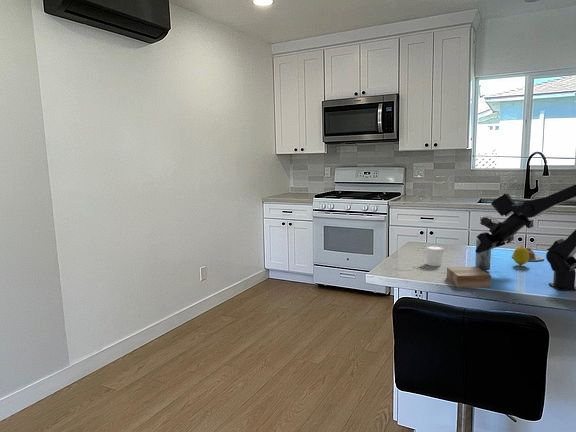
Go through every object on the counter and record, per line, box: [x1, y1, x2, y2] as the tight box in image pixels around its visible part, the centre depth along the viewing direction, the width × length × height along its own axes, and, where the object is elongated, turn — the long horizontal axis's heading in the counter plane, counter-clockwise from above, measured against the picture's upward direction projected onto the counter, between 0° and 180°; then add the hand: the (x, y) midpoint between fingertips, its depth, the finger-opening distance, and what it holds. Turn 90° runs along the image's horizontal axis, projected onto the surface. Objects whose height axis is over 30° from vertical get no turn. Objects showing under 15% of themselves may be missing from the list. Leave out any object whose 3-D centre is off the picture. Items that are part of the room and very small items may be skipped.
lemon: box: [512, 245, 529, 267], centre depth 168 cm, size 6×6×8 cm
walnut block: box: [446, 266, 492, 288], centre depth 148 cm, size 11×11×4 cm
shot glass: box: [425, 245, 444, 267], centre depth 173 cm, size 7×7×7 cm
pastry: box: [511, 247, 545, 262], centre depth 180 cm, size 12×12×5 cm
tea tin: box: [474, 235, 492, 271], centre depth 161 cm, size 5×5×12 cm
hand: (479, 250), depth 162 cm, fingers closed on tea tin, 5 cm apart
